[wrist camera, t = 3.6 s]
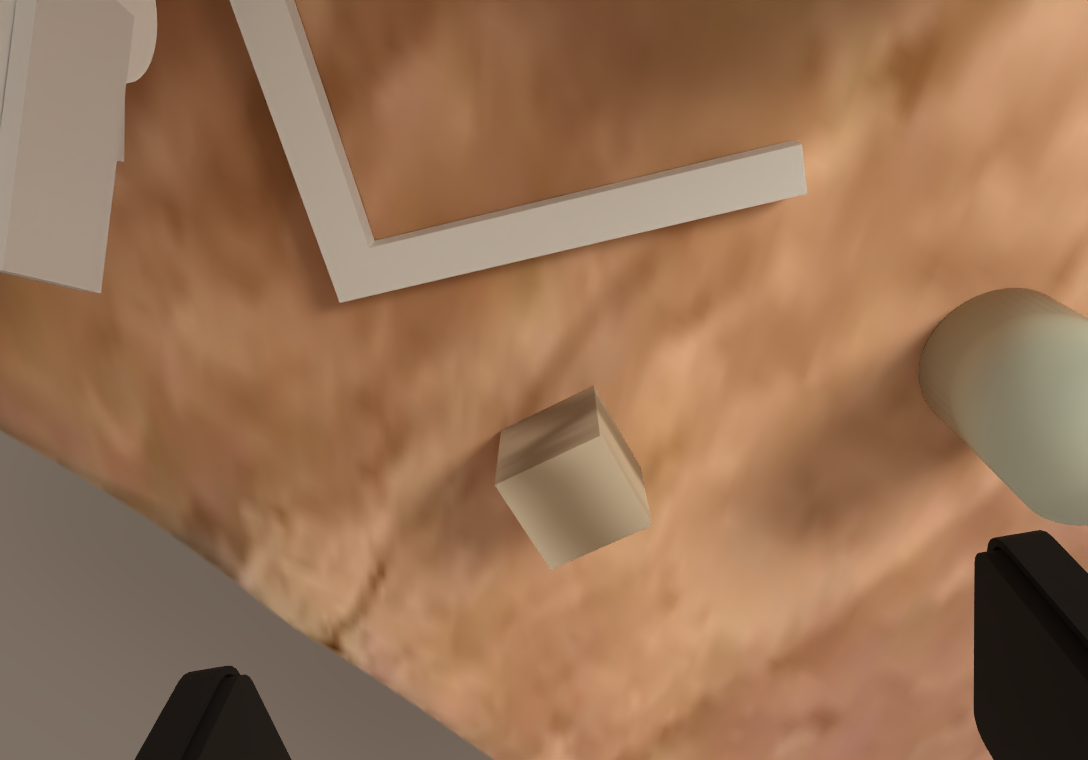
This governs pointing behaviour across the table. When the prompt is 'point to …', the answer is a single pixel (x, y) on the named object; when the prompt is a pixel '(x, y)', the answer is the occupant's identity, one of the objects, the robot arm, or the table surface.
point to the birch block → (571, 479)
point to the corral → (487, 237)
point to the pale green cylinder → (1017, 394)
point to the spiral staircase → (65, 130)
